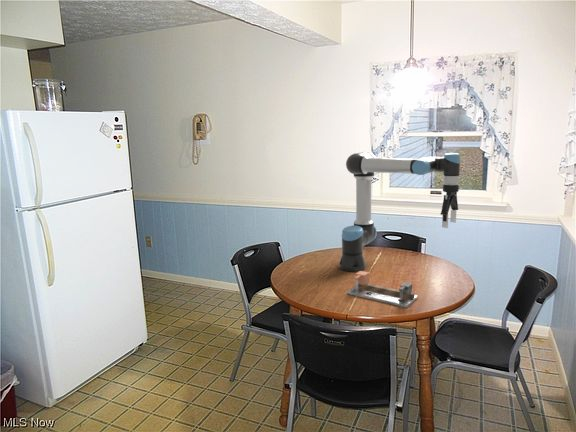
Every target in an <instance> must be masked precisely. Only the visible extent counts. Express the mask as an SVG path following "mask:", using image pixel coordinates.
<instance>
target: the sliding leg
mask: <svg viewBox="0 0 576 432" xmlns="http://www.w3.org/2000/svg"><path fill="white" fill-rule="evenodd" d="M354 280H355V286H356V290H358V284H361V285H366V284H367V283H368V284H370V272H368V271H364V270H362V271H356V273H355V277H354Z"/></svg>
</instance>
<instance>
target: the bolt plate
mask: <svg viewBox="0 0 576 432" xmlns="http://www.w3.org/2000/svg"><path fill="white" fill-rule="evenodd" d="M346 294H347V295H350V296H354V297H359V298H363V299H367V300H373V301H376V302H380V303H385V304H388V305H389V304H390V305H394V306H398V307H402V308H406V309H407V308H409V307H410V306H411V305H412V304H413V303H414V302H415V301H416V300H417V299H418V298H419V297H418V296H419V295H417V294H414V298H413V299H410V298H405V297H403V301H400V296H396V295H392V294H387V293H382V292H378V291H373V290H369V289H364V288H360V287H358V290H356V285H355V286H353V287H352V288H351V289H348V290H347V291H346Z"/></svg>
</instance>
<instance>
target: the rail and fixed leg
mask: <svg viewBox="0 0 576 432" xmlns="http://www.w3.org/2000/svg"><path fill="white" fill-rule="evenodd" d="M358 287H360V288H364V289H369V290H373V291H378V292H382V293H387V294H392V295H396V296H400V301H403V297H405V298H410V299H413V298H414V295H416V293H415V292H413V283H411V282H407V281H403V283H401V284H400V288H399V289H396V288H392V287H387V286H381V285H377V284H371V283H367V284H366V285H361V284H358Z"/></svg>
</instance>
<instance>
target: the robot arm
mask: <svg viewBox="0 0 576 432" xmlns="http://www.w3.org/2000/svg"><path fill="white" fill-rule="evenodd" d="M345 167H346V169H347V171H348V172H349V173H350V174H352V175H353V177H354V178H355V180H356V181H355V182H356V183H355V184H356V185H355V186H356V190H355V193H356V194H355V195H356V197H355V199H356V200H355V202H356V204H355V205H356V206H355V207H356V208H355V210H356V212H355V215H356V216H355V217H356V218H355V220H354V221H353V225H349V226H346V227H344V228H343V229H342V231H341V233H342V234H341V249H342V250H341V254H342V255H341V257H340V260H339V263H338V267H339V269H340V270H341V271H346V272H352V273H353V272H359V271H364V270H366V268H367V264H366V261H365V257H364V253H363V252H364V251H363V250H364V246H366V245H369V244H371V243H372V242H373V241H374V240H375V239H376V237H377V233H378V232H377V228H376V227H375V225H374V224H375V223H374V222H375V221H374V220H372V179H373V178H374V177H375V173H377V174H378V173H380V174H381V173H383V174H405V175H406V174H408V175H409V174H410V175H411V174H412V175H413V174H414V175H418V176H424V175H427V174H429V173H432V172H433V173H434V172H435V173H443V175H442V176H443V178H442V179H443V180H442V183H443V184H442V192H444V193H445V194H443V202H442V206H441V212H440V215H441V216H442V217H441V218H442V219H441V221H442V222H441V228H444V229H445V228H446V229H448V228H449V222H450V223H457V211H458V210H459V205H458V204H459V203H458V195H457V194H458V193H459V191H460V189H459V187H460V186H459V183H460V180H461V178H460V169H461V155H460V154H459V153H457V152H449V153H444V155H443V156H442V157H440V156H423V157H420V158H395V157H394V158H390V157H388V158H387V157H386V158H385V157H384V158H383V157H380V158H379V157H376V155H374V154H373V153H372V152H366V151H363V152H357V153H352V154H351V155H349V156H348V157H347V159H346V161H345ZM449 211H450V219H449Z"/></svg>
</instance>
